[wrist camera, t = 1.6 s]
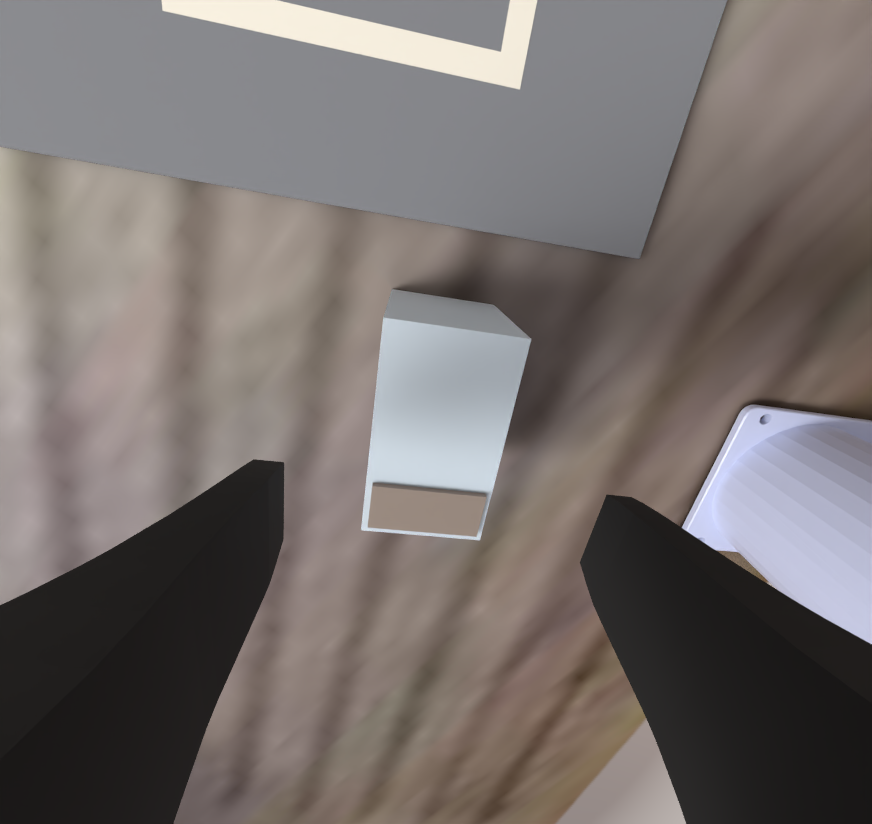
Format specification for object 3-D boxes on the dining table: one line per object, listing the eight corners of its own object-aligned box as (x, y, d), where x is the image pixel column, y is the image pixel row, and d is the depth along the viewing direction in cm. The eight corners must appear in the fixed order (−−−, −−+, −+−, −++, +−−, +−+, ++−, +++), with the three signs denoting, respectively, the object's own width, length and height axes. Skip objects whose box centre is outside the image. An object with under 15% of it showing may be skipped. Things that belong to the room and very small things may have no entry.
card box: (493, 304, 16) (533, 341, 11) (461, 457, 19) (480, 544, 14) (392, 288, 16) (382, 318, 10) (374, 447, 18) (360, 534, 13)
